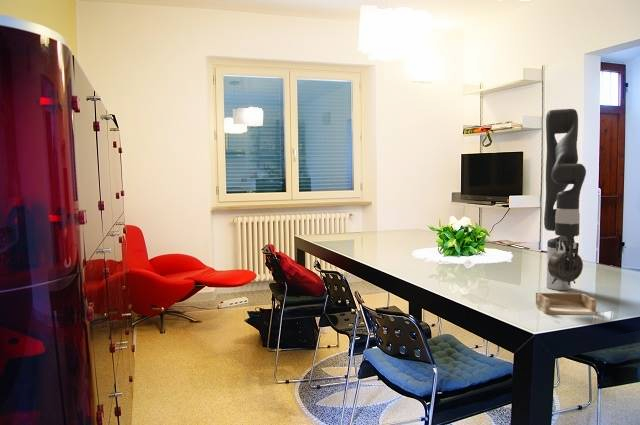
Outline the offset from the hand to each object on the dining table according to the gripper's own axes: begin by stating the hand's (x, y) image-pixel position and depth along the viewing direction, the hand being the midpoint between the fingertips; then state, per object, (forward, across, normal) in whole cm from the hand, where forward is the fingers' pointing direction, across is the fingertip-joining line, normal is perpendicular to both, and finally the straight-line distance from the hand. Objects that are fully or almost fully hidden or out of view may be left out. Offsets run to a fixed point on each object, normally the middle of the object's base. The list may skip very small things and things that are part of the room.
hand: (566, 269), depth 175 cm
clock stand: (+14, 0, 0) cm, 14 cm away
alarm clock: (+5, 0, 0) cm, 5 cm away
